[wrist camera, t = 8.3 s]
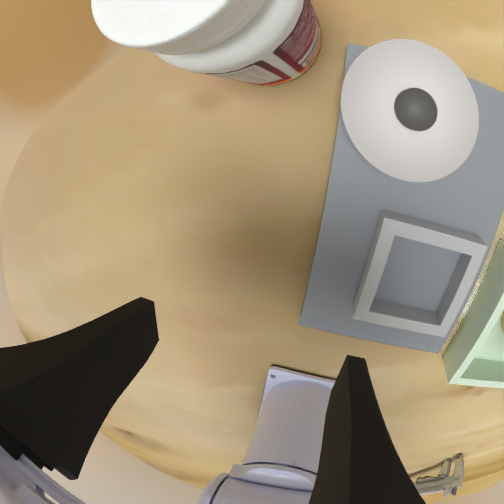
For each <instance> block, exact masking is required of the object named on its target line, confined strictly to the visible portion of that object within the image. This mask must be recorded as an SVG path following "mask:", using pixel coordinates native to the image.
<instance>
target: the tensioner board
mask: <svg viewBox="0 0 504 504" xmlns="http://www.w3.org/2000/svg"><path fill="white" fill-rule="evenodd" d="M503 209H504V93H502V92H500V91H498V90H496V89H494V88H492V87H489V86H487V85H485V84H483V83H480V82H478V81H476V80H473V79H471V78H469V77H466V76H465V74H464V73H463V72H462V70H461V69H460V68H459V67H458V66H457V64H456V63H455V62H454V61H453V60H451V59H450V58H449V57H448V56H447V55H445V54H444V53H443V52H441V51H440V50H438V49H436V48H434V47H432V46H430V45H428V44H425V43H423V42H419V41H415V40H409V39H392V40H387V41H383V42H380V43H377V44H375V45H373V46H371V47H365V46H360V45H355V44H349V43H347V53H346V63H345V72H344V81H343V86H342V91H341V105H340V113H339V120H338V127H337V134H336V141H335V147H334V153H333V160H332V166H331V172H330V178H329V183H328V189H327V195H326V200H325V206H324V211H323V216H322V221H321V226H320V231H319V236H318V241H317V246H316V251H315V256H314V260H313V265H312V269H311V274H310V278H309V283H308V287H307V292H306V296H305V300H304V304H303V309H302V313H301V317H300V321H299V325H301V326H306V327H310V328H314V329H318V330H323V331H327V332H331V333H336V334H340V335H345V336H350V337H354V338H359V339H364V340H369V341H374V342H379V343H384V344H389V345H394V346H399V347H405V348H410V349H416V350H421V351H427V352H433V353H439V351H440V350H441V348H442V346H443V345H444V343H445V341H446V340H447V338H448V336H449V334H450V333H451V331H452V329H453V327H454V325H455V324H456V322H457V320H458V318H459V316H460V314H461V312H462V310H463V308H464V306H465V304H466V302H467V300H468V298H469V296H470V294H471V292H472V290H473V288H474V286H475V283H476V281H477V279H478V277H479V274H480V272H481V270H482V267H483V265H484V263H485V260H486V258H487V255H488V253H489V250H490V247H491V245H492V242H493V239H494V237H495V234H496V231H497V228H498V225H499V222H500V219H501V216H502V213H503Z"/></svg>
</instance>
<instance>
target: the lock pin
mask: <svg viewBox="0 0 504 504" xmlns="http://www.w3.org/2000/svg"><path fill="white" fill-rule="evenodd" d="M500 327H501V330H502V332H503V334H504V310H503V312H502V315H501V318H500Z"/></svg>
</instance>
